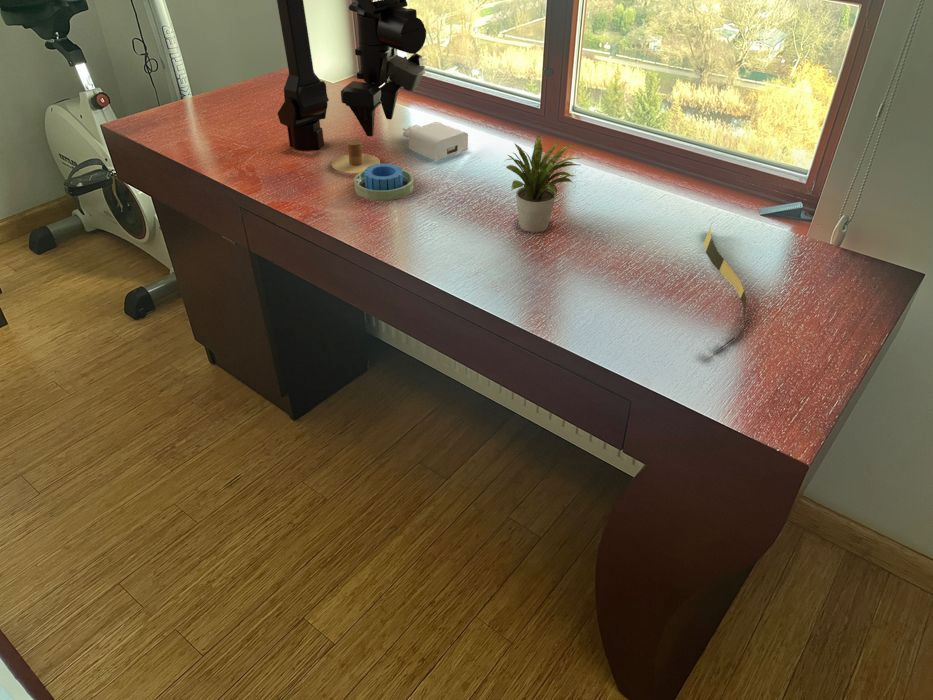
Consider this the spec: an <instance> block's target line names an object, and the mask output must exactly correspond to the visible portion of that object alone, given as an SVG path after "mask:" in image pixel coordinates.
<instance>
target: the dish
mask: <svg viewBox="0 0 933 700" xmlns="http://www.w3.org/2000/svg"><path fill="white" fill-rule="evenodd" d="M402 170H403V182H405V183H406V184H405V185H403V187H401V188H398V189H394V190H386V191H379V190H371V189H367V188H365V186H364V187H363V186H362V185H363V183H365V180H364V171H365V170H364V171H362V172H360V173H356V175H354V178H353V187H354V191H355V193H356V195H358V196H359V197H361V198H364V199H366V200H369V201H377V202H378V201H380V202H383V201H384V202H385V201H394V200H399V199H402V198H404V197H407V196H408V195H410V194H412V192H413V191H414V187H415V183H414V181H415V180H414V179H415V178H414V175H413V174H412V173H411V172H410V171H408V170H406V169H404V168H402Z"/></svg>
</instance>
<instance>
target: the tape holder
mask: <svg viewBox="0 0 933 700" xmlns="http://www.w3.org/2000/svg"><path fill="white" fill-rule="evenodd" d="M347 152H348V154H343V155H341V156H338V157H336V158H334V159H333V160H332V162H331V167H332V168H333V169H334V170H335V171H338V172H341V173H347V174H358V173H360V172H362V171H364V170H365V169H366V168H368V167H369V166H372V165H376V164H381V160H380V158H378V157H377V156H375V155H373V154H368V153H363V147H362V141H361V140H358V139H351V140H348V141H347Z"/></svg>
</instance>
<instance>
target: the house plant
mask: <svg viewBox="0 0 933 700" xmlns="http://www.w3.org/2000/svg"><path fill="white" fill-rule="evenodd" d="M559 142H560V140H557V141H556V142H555V143H554V144H553V145H552V146H551V147H550V148H549V150H547V151H546V153H545V154H544V156H543V144H542V137H541V135H540V134H538V135H537V136H536V139H535V142H534V146H533V151H532V155H531V157H530V155H529V154H528V153H527V152H526V151H525V150H523V148H522V147H521V146H520V145H517V144H516V143H514V145H515V148H516V150H517V151H518V154H519V156H520V157H519V156H518V155H517V154H516V153H514V152H512V154H513V155H515V157H516V158H517V159H516V158H514V157H513V156H512V155H510V154H507V156H508V157H509V158H507V159H504V160H503V161H504V162H505V161H513V162H514V163H515V164H516V165H513V164H509V165H506V166H505V168H506V169H507V170H510V171H511V172H513V173H515V174H516V175H517V176H519V178H520V179H521V180H522V181H521V180H516V179H515V180H512V184H511V190H510V192H512V191H513V190H516V189H517V190H516V192H515V198H516V199H515V200H516V206H517V217H518V224H519V227H520V228H521V229H522V230H523V231H526V232H529V233H540V232H544V231H545V230H547V229H548V228H549V224H550V221H551V217H552V213H553V209H554V205H555V202H556V197H557V194H558V193H557V192H558V187H557V185H556V184H559V183H568V182H569V183H572V184H575V183H574V182H573V181H572V180H571V179H570V178H568V177H571V178H573V177H576V175H574V174H571V173H569V172H566V171H558V170H559V169H562V168H566V167H570V166H571V167H572V166H580V164H579V163H573V161H570V160H579V159H581V157H568V158H564V159H561V160H559V159H560V158H561V157H562V155H563V154H564V152H565V151H566V150H568V148H570V147H571V146H572V144H569V145H565V146H563V147H561V148H560V149H559V150H558V151H556V153H555V154H554V155H553V156H552V154H553V152H554V150H555V149H556V147H557V146H558V144H559ZM551 156H552V157H551ZM550 157H551V158H550ZM558 160H559V161H558ZM517 166H518V167H517ZM555 171H558V172H555ZM554 172H555V173H554ZM558 176H561V177H558ZM556 177H558V178H556ZM554 178H555V179H554Z"/></svg>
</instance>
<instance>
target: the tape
mask: <svg viewBox="0 0 933 700" xmlns="http://www.w3.org/2000/svg"><path fill="white" fill-rule="evenodd" d="M713 221H714V220H712V222H711V223H713ZM712 237H713V236H712V225H710V226H709V229H708V232H707V234H706V236H705V239H704V241H703V244H704V249H705V254H706V255H707V257H708V258H709V260H710V262H711V264H712V265H713V266H714V267H715V269H717V270H718V272H719V273H720V274H721V275H722V276H723V277H724V278H725V279H726V281H728V282H729V283H730V284H731V286H733V287H734V288H735V290H736V293H737V295H738V297H739V299H740V301H741V303H742V319H743V320H742V321H744V320H745V319H746V315H747V300H748V299H747V295H746V293H745V290H744V287H743V284H742V281H741V279H740V278H739V276H738V275H737V274H736V273H735V272H734V270H733V268H731V267H730V265H729V264H728V263H727V262H726V260H725V258H724V257H723V256H722V255H721V253H720V252H719V251H718V249H717V247H716V245H715V242H714V240H713V238H712ZM735 339H736V336H734V337H732V338H731V339H730V340H729V341H727V342H726V343H725V344H723V345H722V346H721V347H719V348H718V349H717V350H715V351H714V352H713V353H712V354H710V355H709V356H708V358H710V357H711V356H712V355H714V354H716V353H717V352H718V351H720V350H721V349H723V348H724V347H725V346H727V345H728V344H730V343H731V342H732V341H733V340H735Z"/></svg>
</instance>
